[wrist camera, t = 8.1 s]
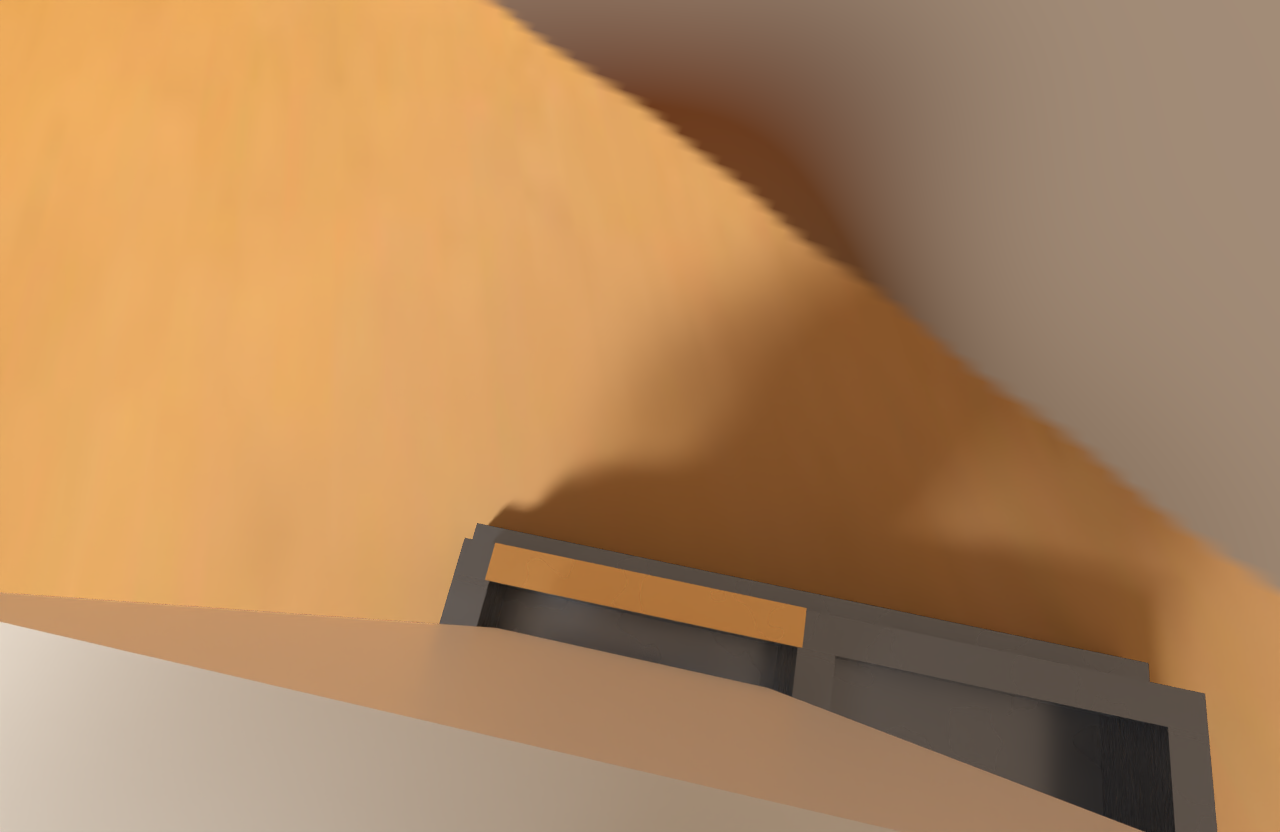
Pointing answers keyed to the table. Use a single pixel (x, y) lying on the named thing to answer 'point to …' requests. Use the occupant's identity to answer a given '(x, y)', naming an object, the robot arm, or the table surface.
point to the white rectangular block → (435, 736)
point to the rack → (869, 671)
